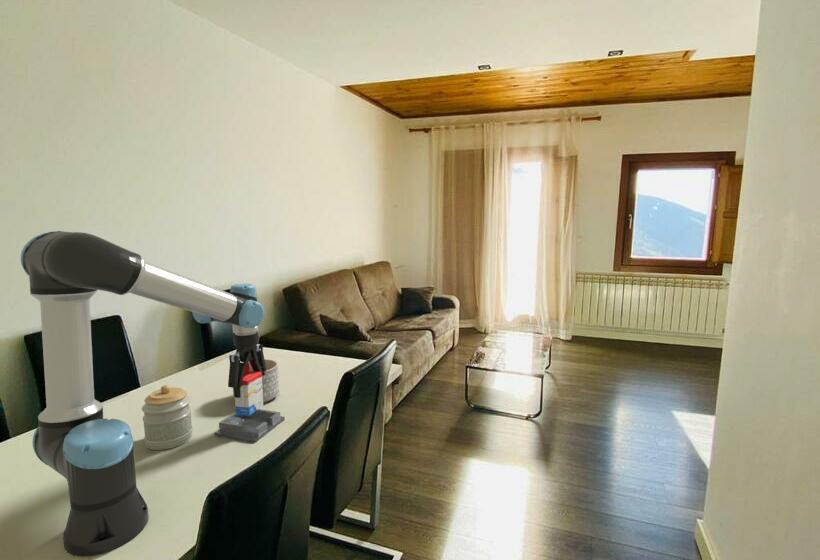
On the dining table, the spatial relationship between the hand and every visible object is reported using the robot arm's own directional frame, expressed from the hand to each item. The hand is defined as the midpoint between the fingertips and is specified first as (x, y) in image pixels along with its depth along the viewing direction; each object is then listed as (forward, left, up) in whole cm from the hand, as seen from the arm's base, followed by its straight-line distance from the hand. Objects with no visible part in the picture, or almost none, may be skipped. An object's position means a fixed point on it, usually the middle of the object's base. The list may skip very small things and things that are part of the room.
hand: (249, 400), depth 139 cm
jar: (-14, +19, -10) cm, 25 cm away
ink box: (0, 0, -4) cm, 4 cm away
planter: (+21, +13, -10) cm, 26 cm away
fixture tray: (0, 0, -9) cm, 9 cm away
